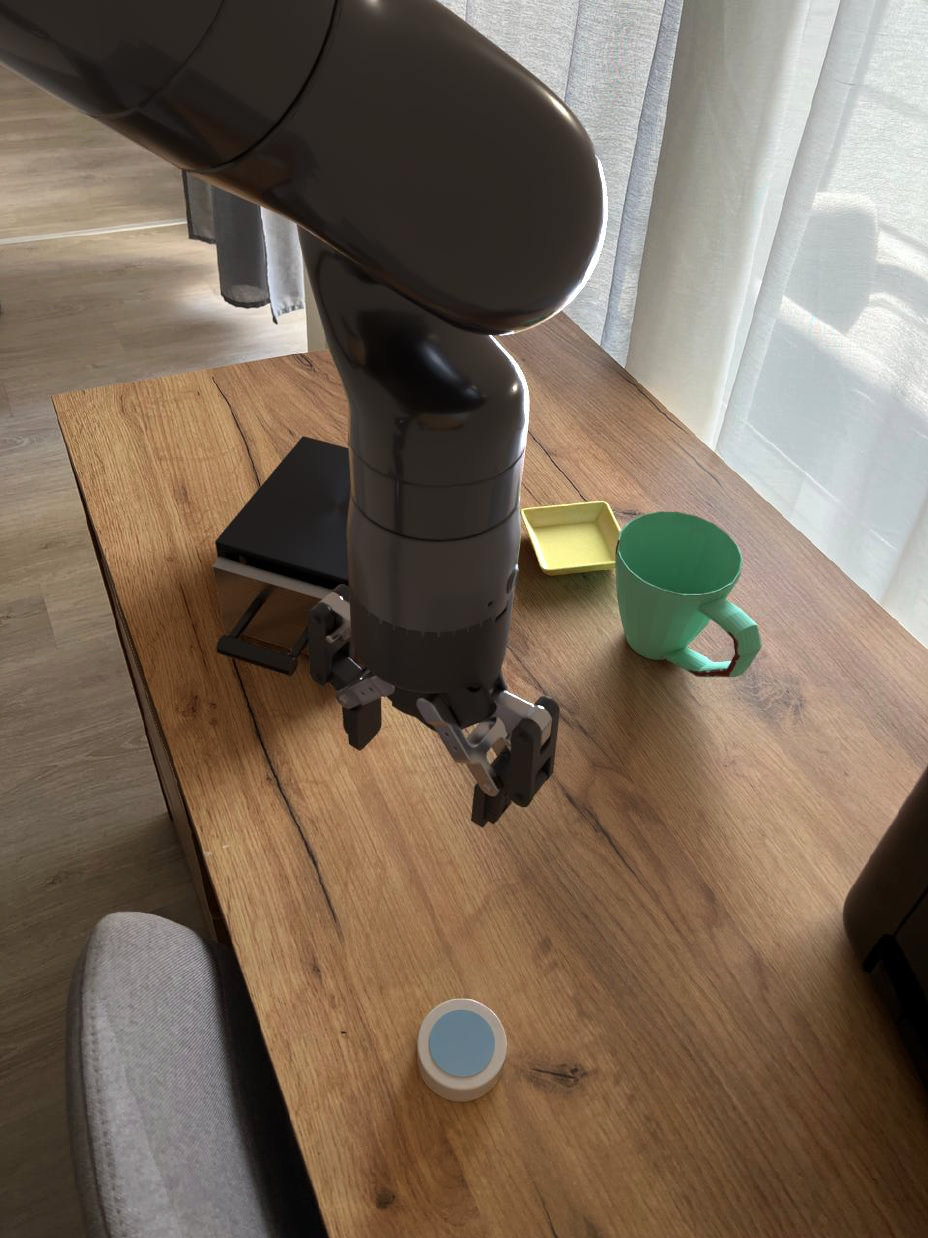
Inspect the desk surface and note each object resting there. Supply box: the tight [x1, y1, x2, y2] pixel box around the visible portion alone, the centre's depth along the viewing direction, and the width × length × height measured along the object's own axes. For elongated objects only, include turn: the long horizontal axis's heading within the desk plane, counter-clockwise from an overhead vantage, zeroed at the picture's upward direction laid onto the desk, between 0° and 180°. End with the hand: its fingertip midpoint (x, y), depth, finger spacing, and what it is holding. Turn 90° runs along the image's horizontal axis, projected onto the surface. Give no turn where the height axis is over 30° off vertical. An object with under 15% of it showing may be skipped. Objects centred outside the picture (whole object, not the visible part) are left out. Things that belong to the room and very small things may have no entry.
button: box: [416, 998, 508, 1103], centre depth 56 cm, size 5×5×2 cm
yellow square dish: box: [520, 500, 622, 577], centre depth 88 cm, size 9×9×2 cm
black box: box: [214, 435, 350, 587], centre depth 81 cm, size 15×14×9 cm
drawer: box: [212, 556, 364, 677], centre depth 77 cm, size 20×12×7 cm, turn 160°
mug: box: [614, 510, 763, 678], centre depth 76 cm, size 15×10×10 cm
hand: (424, 775), depth 54 cm, fingers open, 8 cm apart
